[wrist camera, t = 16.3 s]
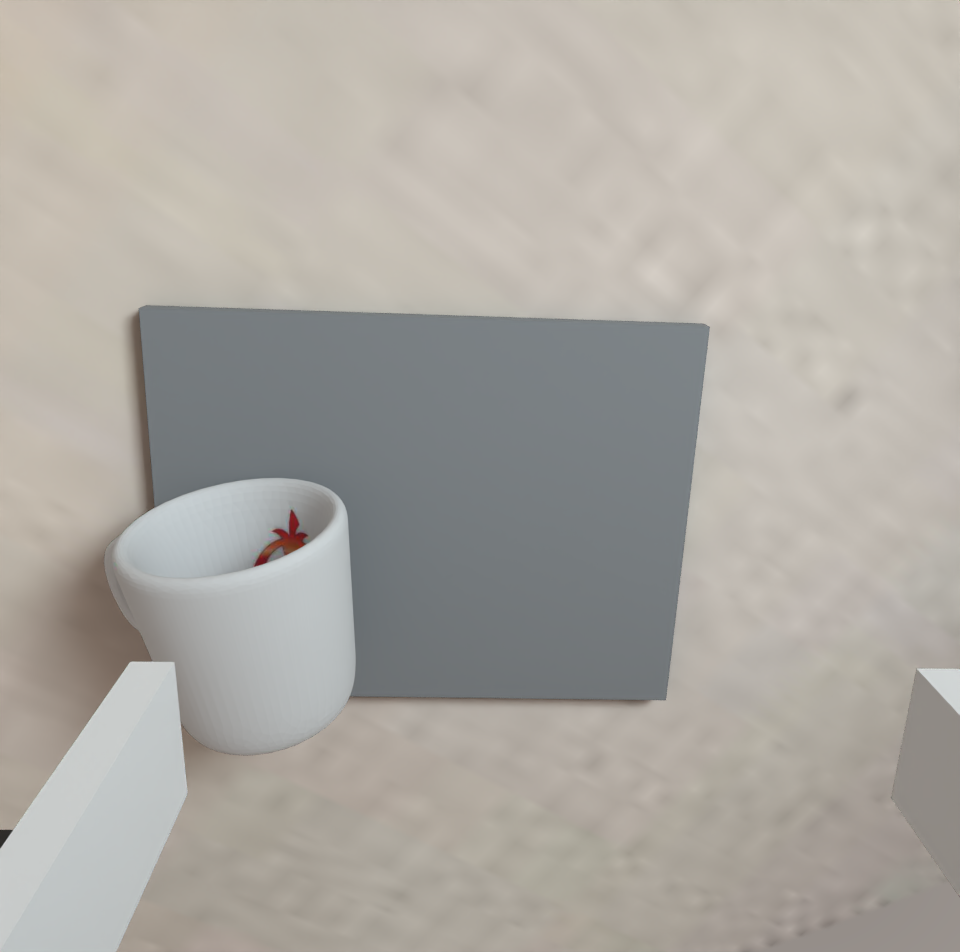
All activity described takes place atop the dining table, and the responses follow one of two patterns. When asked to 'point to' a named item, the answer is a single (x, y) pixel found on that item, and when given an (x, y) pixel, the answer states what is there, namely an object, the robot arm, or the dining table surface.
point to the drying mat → (458, 479)
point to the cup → (245, 608)
